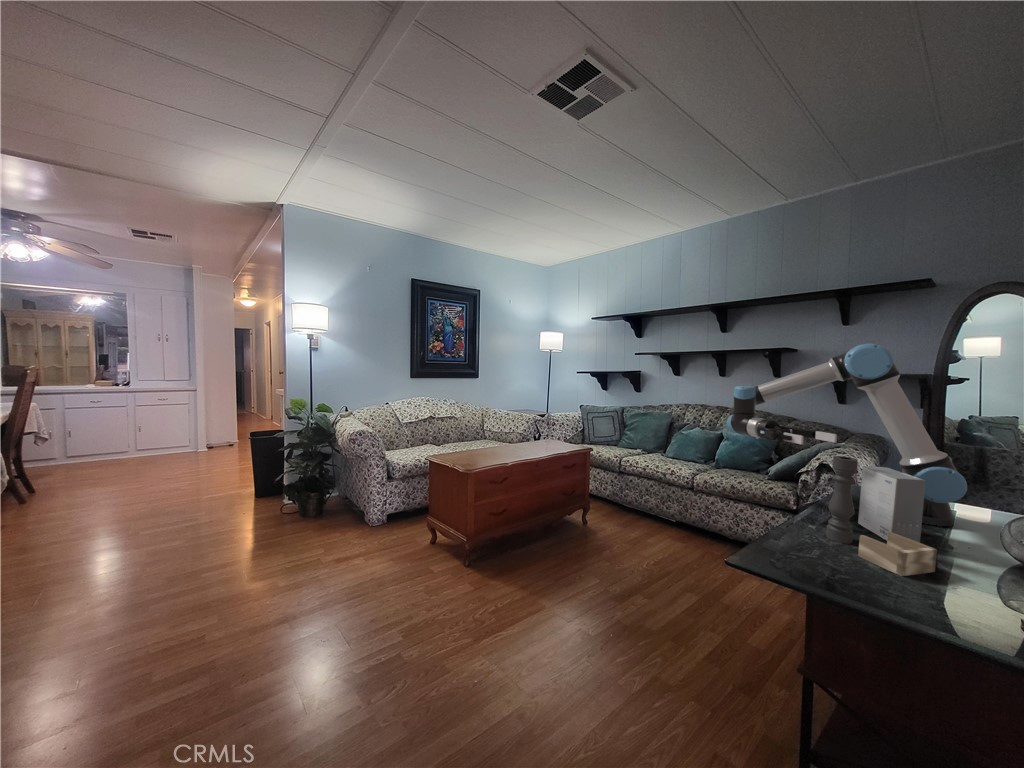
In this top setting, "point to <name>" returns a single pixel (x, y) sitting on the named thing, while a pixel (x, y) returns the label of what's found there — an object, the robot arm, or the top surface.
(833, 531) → the candle holder
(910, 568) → the birch crate
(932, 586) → the top surface
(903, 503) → the hard drive box
